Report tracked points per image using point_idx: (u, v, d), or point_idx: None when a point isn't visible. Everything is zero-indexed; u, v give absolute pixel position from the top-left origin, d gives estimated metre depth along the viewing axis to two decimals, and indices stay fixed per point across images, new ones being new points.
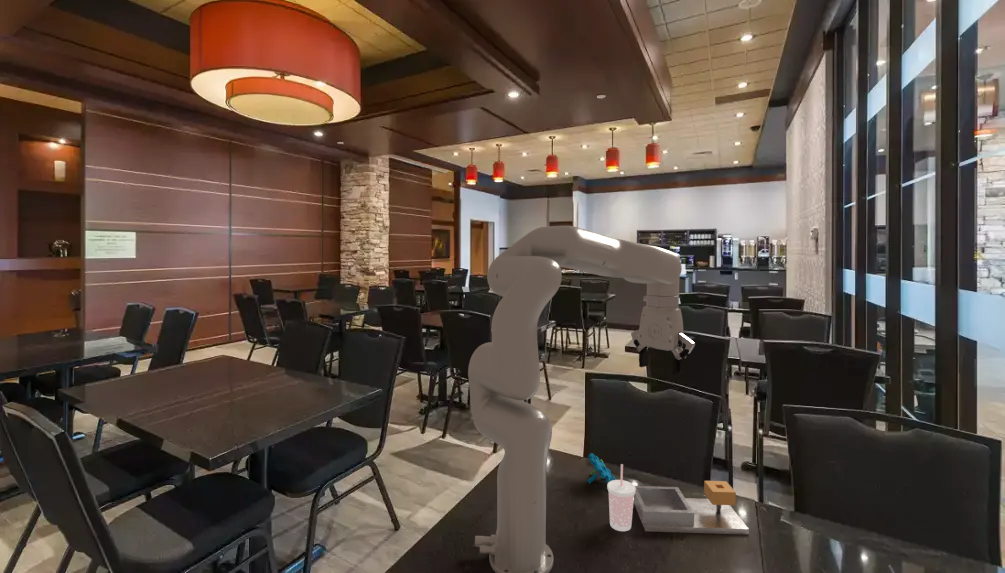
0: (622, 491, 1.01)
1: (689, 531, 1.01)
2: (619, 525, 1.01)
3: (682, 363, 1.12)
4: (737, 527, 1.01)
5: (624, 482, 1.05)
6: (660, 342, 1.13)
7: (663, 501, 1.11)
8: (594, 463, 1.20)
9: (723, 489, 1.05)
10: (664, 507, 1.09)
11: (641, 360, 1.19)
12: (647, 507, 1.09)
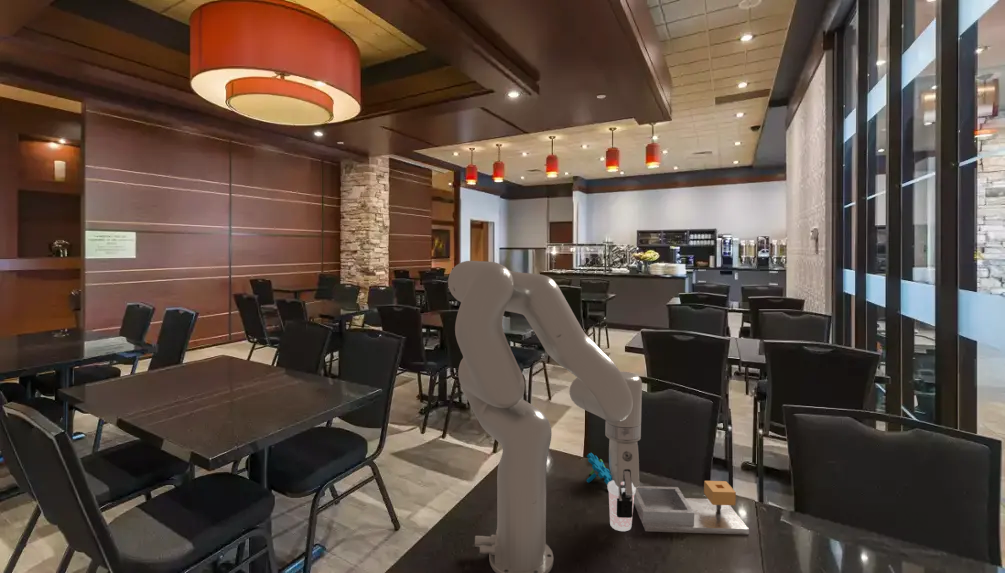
0: (622, 491, 1.01)
1: (689, 531, 1.01)
2: (619, 525, 1.01)
3: None
4: (737, 527, 1.01)
5: None
6: None
7: (663, 501, 1.11)
8: (592, 463, 1.20)
9: (723, 489, 1.05)
10: (664, 507, 1.09)
11: None
12: (647, 507, 1.09)
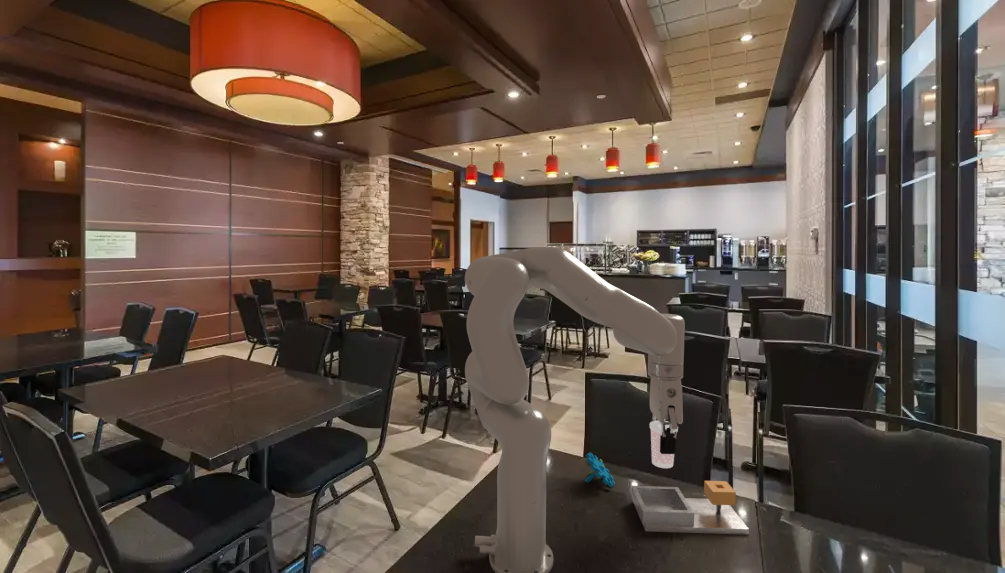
0: (665, 429, 1.04)
1: (689, 531, 1.01)
2: (662, 462, 1.04)
3: None
4: (737, 527, 1.01)
5: None
6: None
7: (663, 501, 1.11)
8: (591, 462, 1.20)
9: (723, 489, 1.05)
10: (664, 507, 1.09)
11: None
12: (647, 507, 1.09)
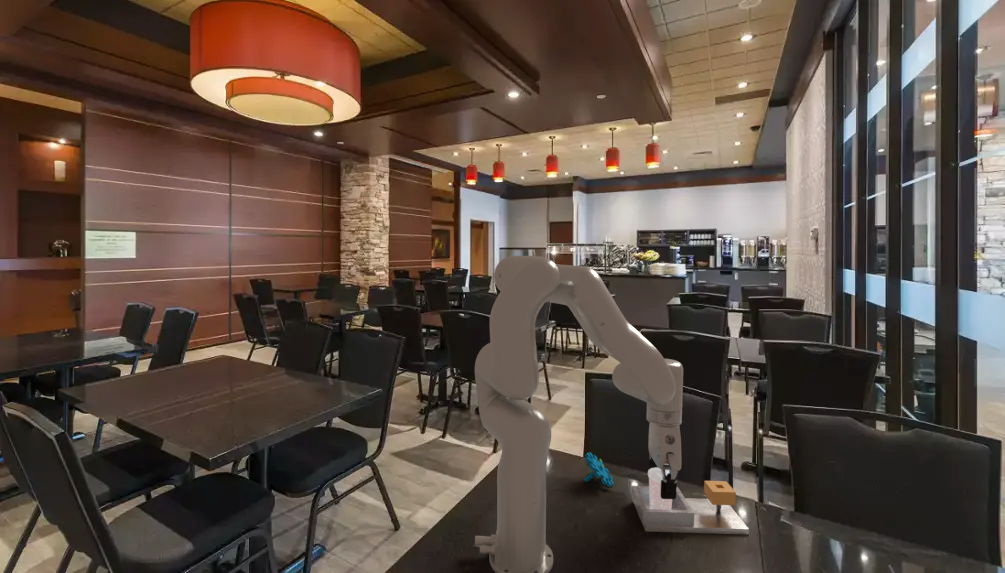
0: None
1: (689, 531, 1.01)
2: None
3: None
4: (737, 527, 1.01)
5: None
6: None
7: None
8: (590, 462, 1.21)
9: (723, 489, 1.05)
10: None
11: None
12: (647, 507, 1.09)
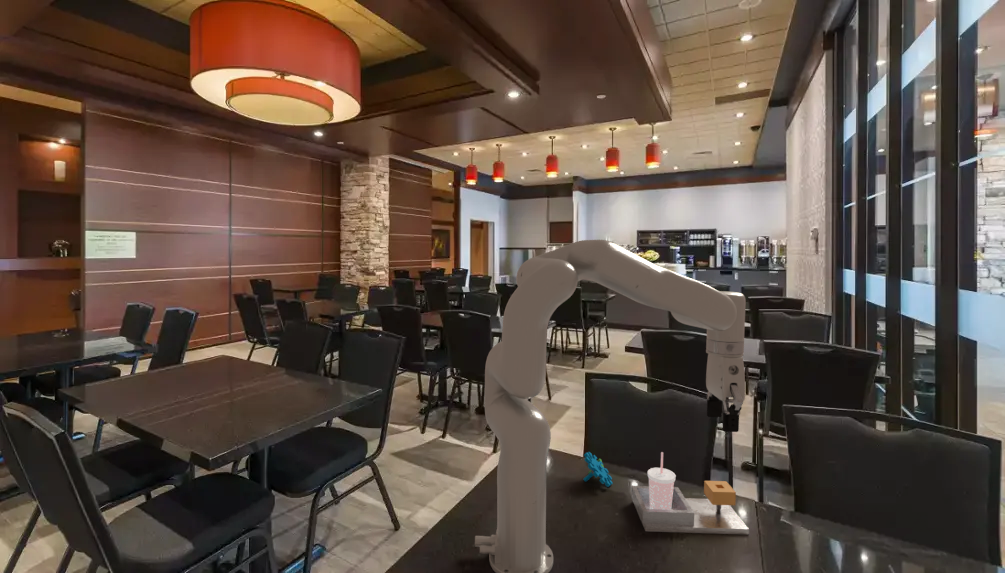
0: (663, 478, 1.04)
1: (689, 531, 1.01)
2: None
3: None
4: (737, 527, 1.01)
5: (663, 470, 1.08)
6: None
7: None
8: (589, 462, 1.21)
9: (723, 489, 1.05)
10: None
11: None
12: (647, 507, 1.09)
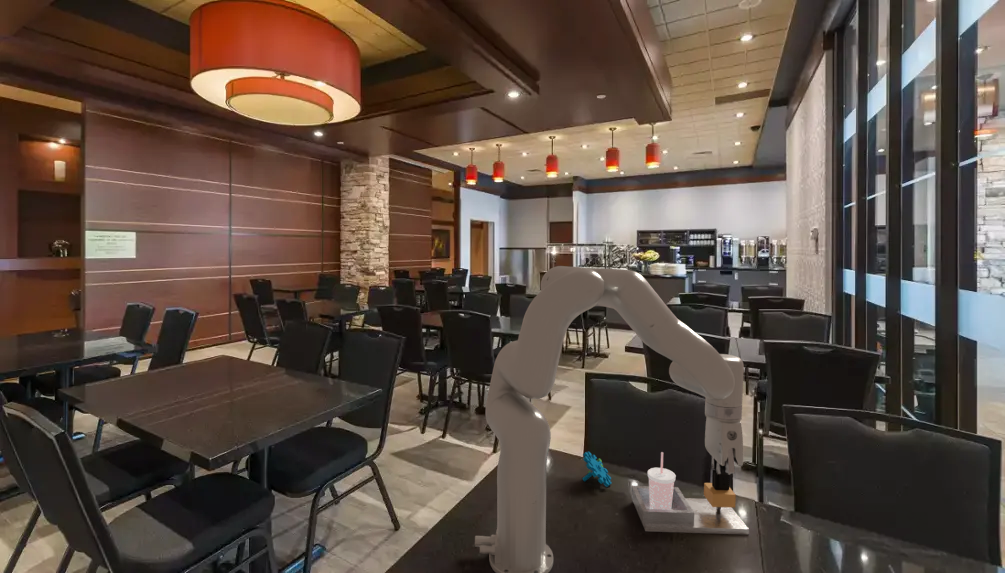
0: (663, 478, 1.04)
1: (689, 531, 1.01)
2: None
3: None
4: (737, 527, 1.01)
5: (663, 470, 1.08)
6: None
7: None
8: (588, 461, 1.21)
9: (723, 491, 1.05)
10: None
11: None
12: (647, 507, 1.09)
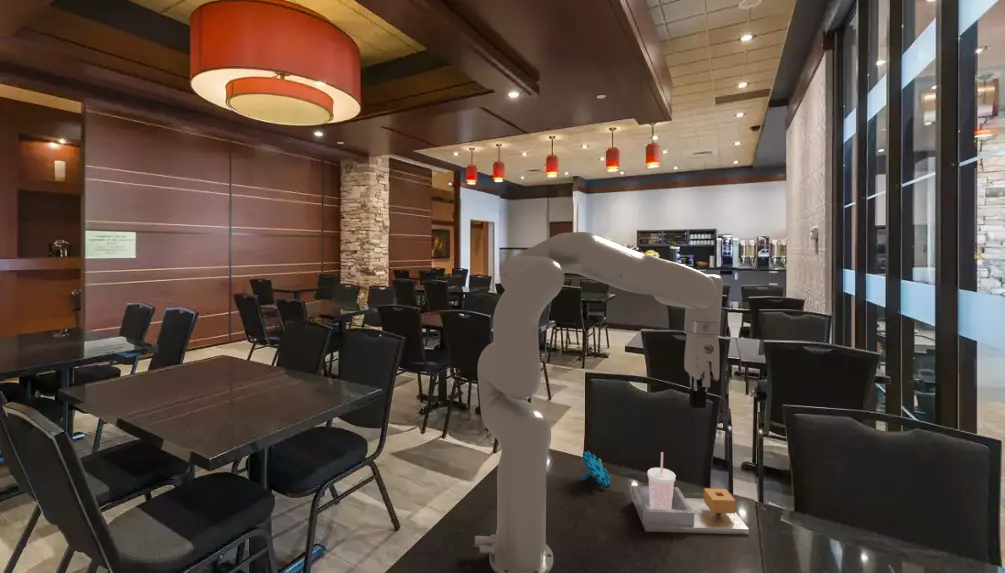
0: (663, 478, 1.04)
1: (689, 531, 1.01)
2: None
3: None
4: (737, 527, 1.01)
5: (663, 470, 1.08)
6: None
7: None
8: (586, 461, 1.21)
9: (723, 497, 1.05)
10: None
11: None
12: (647, 507, 1.09)
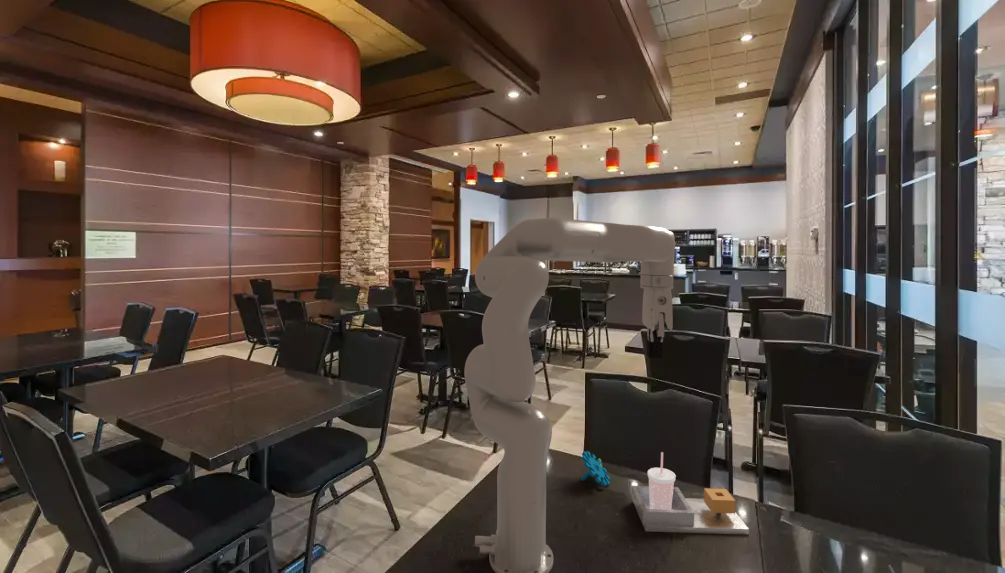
0: (663, 478, 1.04)
1: (689, 531, 1.01)
2: None
3: None
4: (737, 527, 1.01)
5: (663, 470, 1.08)
6: None
7: None
8: (586, 461, 1.21)
9: (723, 497, 1.05)
10: None
11: None
12: (647, 507, 1.09)
